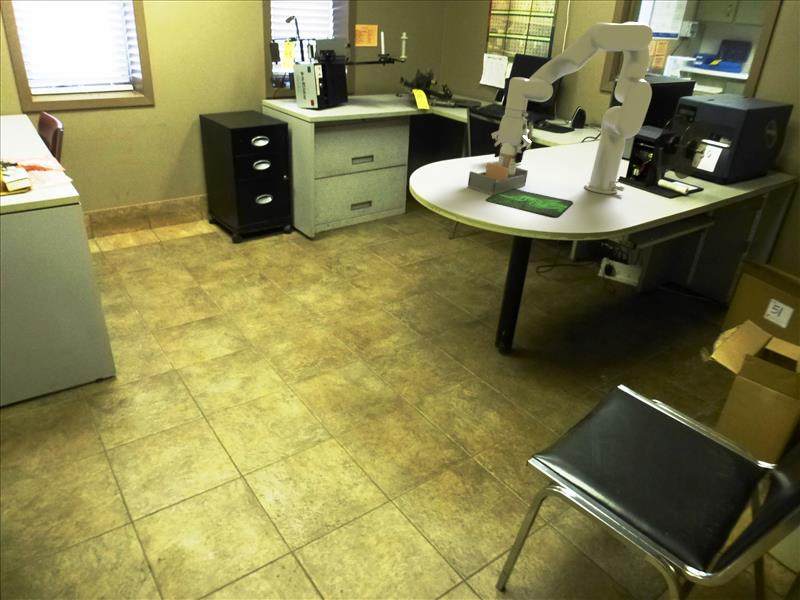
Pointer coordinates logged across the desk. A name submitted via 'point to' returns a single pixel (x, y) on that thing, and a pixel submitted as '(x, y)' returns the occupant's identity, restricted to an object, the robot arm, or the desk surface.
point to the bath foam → (508, 158)
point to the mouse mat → (531, 202)
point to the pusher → (496, 172)
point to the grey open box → (491, 186)
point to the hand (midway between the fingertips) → (507, 159)
